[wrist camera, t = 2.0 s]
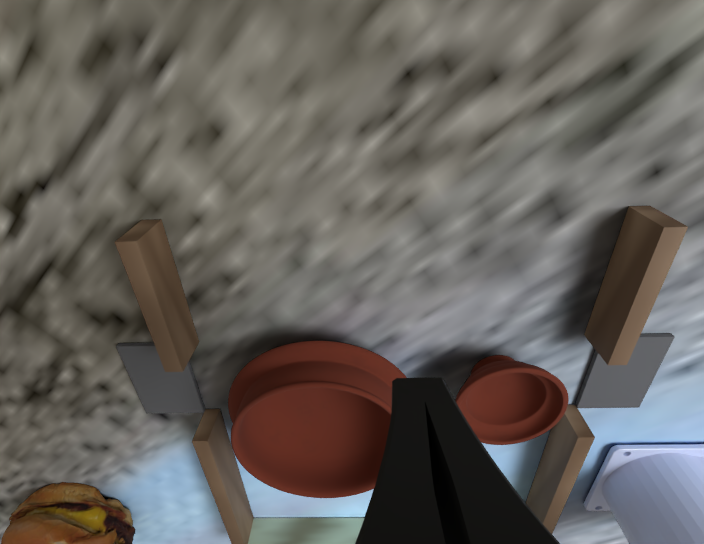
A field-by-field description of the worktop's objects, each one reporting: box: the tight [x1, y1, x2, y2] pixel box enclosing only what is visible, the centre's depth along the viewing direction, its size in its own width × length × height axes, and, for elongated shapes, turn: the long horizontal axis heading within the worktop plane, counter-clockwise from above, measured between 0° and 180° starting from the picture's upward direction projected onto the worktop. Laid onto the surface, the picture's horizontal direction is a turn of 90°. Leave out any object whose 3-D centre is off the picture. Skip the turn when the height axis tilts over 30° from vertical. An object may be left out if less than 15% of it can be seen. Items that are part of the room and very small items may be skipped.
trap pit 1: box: [116, 343, 205, 413], centre depth 25 cm, size 4×6×1 cm, turn 2°
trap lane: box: [115, 206, 688, 544], centre depth 25 cm, size 25×29×3 cm
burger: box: [1, 482, 135, 544], centre depth 32 cm, size 10×9×5 cm
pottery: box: [228, 341, 568, 498], centre depth 23 cm, size 12×20×4 cm, turn 100°
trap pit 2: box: [575, 333, 674, 408], centre depth 24 cm, size 4×6×1 cm, turn 2°
